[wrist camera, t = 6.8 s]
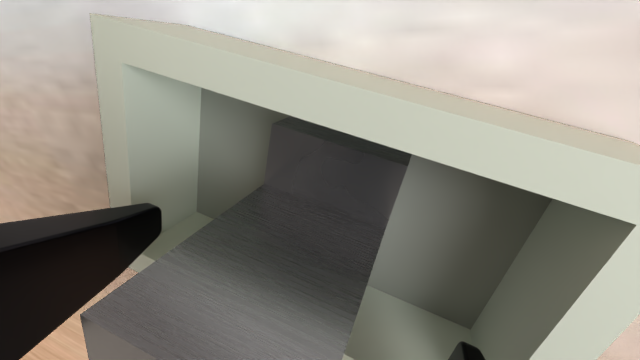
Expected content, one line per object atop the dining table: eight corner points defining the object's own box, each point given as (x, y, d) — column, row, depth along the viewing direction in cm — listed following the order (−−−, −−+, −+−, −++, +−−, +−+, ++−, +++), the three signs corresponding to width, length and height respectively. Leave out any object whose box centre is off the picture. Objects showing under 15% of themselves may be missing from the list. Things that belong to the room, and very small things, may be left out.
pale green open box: (486, 353, 12) (501, 459, 9) (183, 218, 15) (115, 261, 12) (632, 142, 8) (751, 196, 5) (186, 25, 11) (89, 13, 8)
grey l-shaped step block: (370, 270, 12) (278, 539, 5) (277, 231, 13) (100, 418, 6) (413, 148, 10) (350, 347, 3) (297, 113, 11) (58, 207, 4)
